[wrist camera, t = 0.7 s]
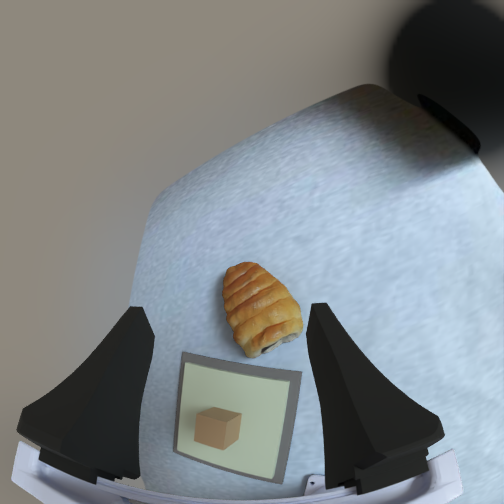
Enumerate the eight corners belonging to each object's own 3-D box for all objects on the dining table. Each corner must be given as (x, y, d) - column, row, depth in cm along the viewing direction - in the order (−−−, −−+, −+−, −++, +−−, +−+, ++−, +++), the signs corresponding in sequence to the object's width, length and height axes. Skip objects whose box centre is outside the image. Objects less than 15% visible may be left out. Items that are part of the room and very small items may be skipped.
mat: (282, 483, 19) (281, 484, 19) (174, 451, 24) (173, 451, 24) (302, 371, 23) (301, 371, 23) (183, 351, 28) (182, 351, 28)
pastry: (214, 285, 29) (197, 277, 26) (266, 251, 29) (255, 238, 25) (254, 363, 25) (240, 365, 22) (314, 328, 24) (308, 326, 21)
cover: (273, 475, 20) (260, 494, 16) (181, 448, 24) (158, 458, 20) (289, 380, 23) (278, 388, 19) (189, 362, 27) (165, 363, 23)
